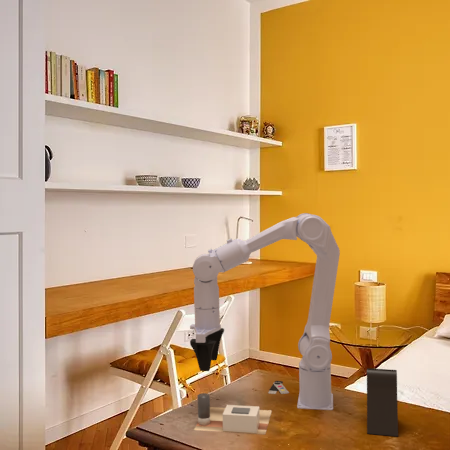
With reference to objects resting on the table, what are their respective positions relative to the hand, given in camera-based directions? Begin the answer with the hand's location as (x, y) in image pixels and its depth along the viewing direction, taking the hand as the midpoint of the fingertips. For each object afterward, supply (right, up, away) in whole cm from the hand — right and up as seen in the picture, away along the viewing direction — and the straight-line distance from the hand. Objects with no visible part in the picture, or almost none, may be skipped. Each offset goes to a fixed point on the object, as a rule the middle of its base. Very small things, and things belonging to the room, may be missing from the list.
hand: (208, 365), depth 123 cm
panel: (+6, -10, -8) cm, 14 cm away
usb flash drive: (+18, -9, +11) cm, 23 cm away
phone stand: (+37, -10, -12) cm, 40 cm away
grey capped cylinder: (-1, -10, -9) cm, 13 cm away
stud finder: (+7, -10, -11) cm, 17 cm away
